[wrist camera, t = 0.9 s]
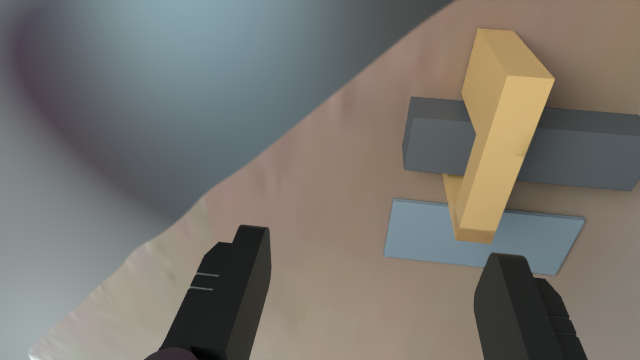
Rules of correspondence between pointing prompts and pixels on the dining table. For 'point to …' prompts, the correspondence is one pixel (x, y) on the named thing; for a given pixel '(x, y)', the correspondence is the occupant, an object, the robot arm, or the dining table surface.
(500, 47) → the yellow bent bar
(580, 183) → the dark gray rectangular block
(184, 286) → the dining table surface
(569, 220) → the light blue panel
